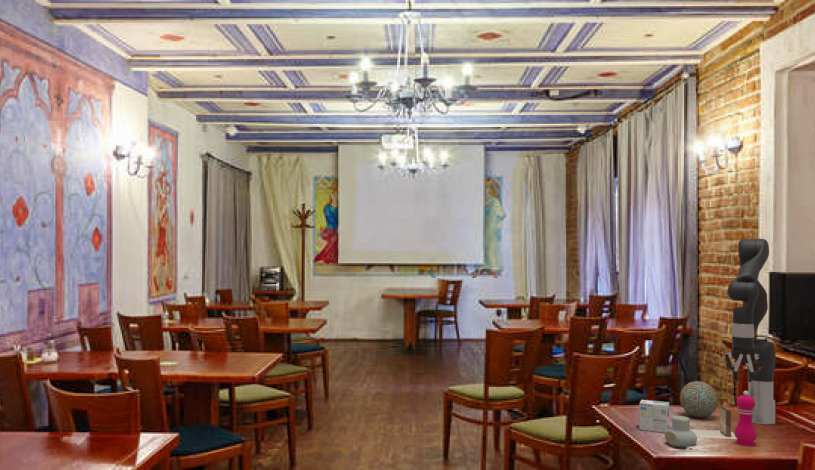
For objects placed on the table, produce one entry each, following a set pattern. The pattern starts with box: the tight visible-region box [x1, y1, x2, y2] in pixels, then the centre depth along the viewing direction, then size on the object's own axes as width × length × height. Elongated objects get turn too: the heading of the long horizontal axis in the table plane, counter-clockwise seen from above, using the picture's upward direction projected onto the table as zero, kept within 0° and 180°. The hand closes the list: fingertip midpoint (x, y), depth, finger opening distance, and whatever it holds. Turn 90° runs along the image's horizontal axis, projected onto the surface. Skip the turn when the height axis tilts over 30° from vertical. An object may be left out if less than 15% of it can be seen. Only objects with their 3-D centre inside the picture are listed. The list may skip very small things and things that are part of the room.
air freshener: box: [664, 415, 698, 449], centre depth 258 cm, size 11×8×10 cm
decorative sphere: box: [679, 380, 719, 419], centre depth 303 cm, size 15×15×15 cm
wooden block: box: [719, 405, 732, 437], centre depth 270 cm, size 2×7×10 cm, turn 174°
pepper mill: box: [734, 390, 758, 447], centre depth 258 cm, size 7×7×20 cm
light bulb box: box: [638, 399, 670, 434], centre depth 281 cm, size 11×7×11 cm, turn 65°
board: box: [690, 428, 738, 440], centre depth 271 cm, size 20×12×1 cm, turn 84°
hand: (742, 381), depth 270 cm, fingers open, 4 cm apart
